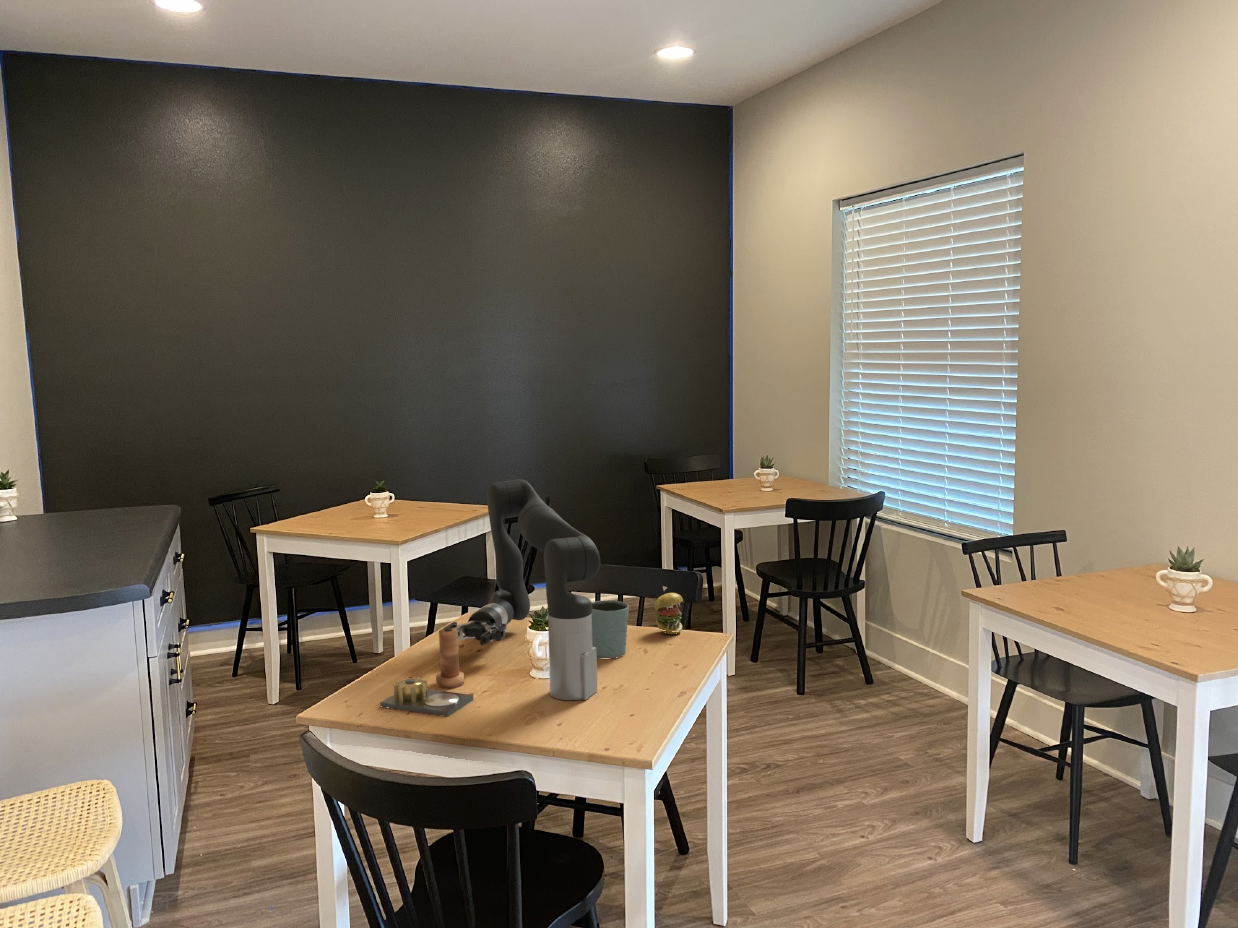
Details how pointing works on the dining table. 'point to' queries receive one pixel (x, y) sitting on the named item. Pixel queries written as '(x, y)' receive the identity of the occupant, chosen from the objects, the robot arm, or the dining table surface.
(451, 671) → the brown round post
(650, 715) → the dining table surface
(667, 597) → the hamburger
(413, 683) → the sun gear
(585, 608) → the robot arm
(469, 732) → the dining table surface
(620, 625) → the teal cup
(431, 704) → the carrier plate
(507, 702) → the dining table surface
